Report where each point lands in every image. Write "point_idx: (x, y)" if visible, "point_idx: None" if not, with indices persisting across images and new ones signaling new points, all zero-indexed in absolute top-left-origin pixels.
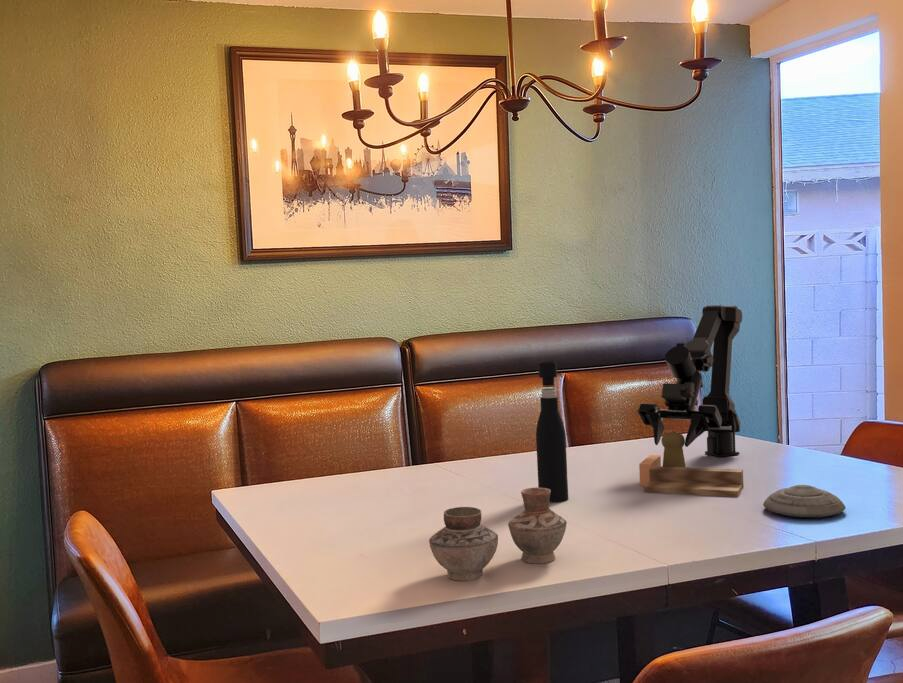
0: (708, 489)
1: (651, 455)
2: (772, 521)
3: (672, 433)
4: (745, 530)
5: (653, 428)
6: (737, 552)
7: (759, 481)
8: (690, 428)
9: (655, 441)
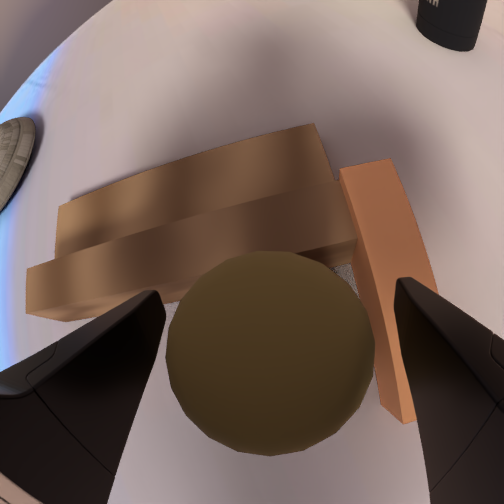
0: (118, 183)
1: None
2: (41, 105)
3: (255, 344)
4: (76, 58)
5: (500, 338)
6: (92, 17)
7: None
8: (56, 360)
9: (405, 278)
